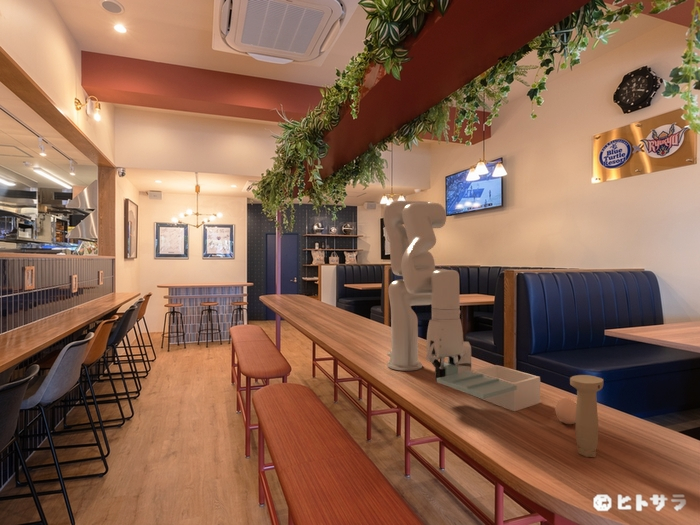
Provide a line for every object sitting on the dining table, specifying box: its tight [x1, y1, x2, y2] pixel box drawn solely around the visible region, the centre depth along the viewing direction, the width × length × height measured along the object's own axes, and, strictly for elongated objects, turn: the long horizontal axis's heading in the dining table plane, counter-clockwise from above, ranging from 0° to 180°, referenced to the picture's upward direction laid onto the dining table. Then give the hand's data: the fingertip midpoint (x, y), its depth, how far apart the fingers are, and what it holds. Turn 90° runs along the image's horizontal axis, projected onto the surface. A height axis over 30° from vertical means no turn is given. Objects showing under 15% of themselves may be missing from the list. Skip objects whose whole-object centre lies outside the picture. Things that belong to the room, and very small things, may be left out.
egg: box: [555, 397, 577, 425], centre depth 90 cm, size 5×5×6 cm
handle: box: [569, 374, 604, 458], centre depth 76 cm, size 5×6×15 cm
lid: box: [434, 361, 517, 400], centre depth 99 cm, size 20×12×3 cm, turn 31°
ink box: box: [458, 340, 472, 373], centre depth 123 cm, size 9×5×12 cm, turn 168°
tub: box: [471, 364, 541, 412], centre depth 106 cm, size 14×11×7 cm
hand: (446, 380), depth 105 cm, fingers closed on lid, 3 cm apart
